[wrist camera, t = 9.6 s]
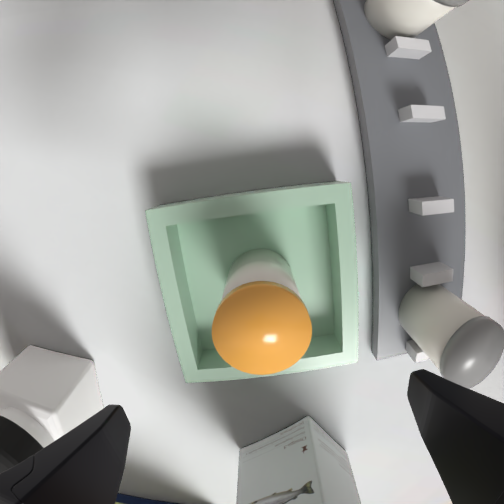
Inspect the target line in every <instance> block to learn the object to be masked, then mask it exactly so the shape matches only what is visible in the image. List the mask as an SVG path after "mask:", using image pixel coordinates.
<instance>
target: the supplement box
mask: <svg viewBox="0 0 504 504" xmlns="http://www.w3.org/2000/svg"><path fill="white" fill-rule="evenodd" d="M236 504H361V501H360V498H359V494H358V490H357V487H356V483H355V480H354V476H353V473H352V469H351V465H350V462H349V458H348V455H347V452H346V451H345V450H344V449H343V448H342V447H341V446H340V445H339V444H337V443H336V442H335V441H334V440H333V439H332V438H331V437H330V436H329V435H328V434H327V433H326V432H325V431H324V430H323V429H322V428H321V427H320V426H319V425H318V424H317V423H316V422H315V421H314V420H313V419H312V418H311V417H310V416H307V417H305V418H303V419H302V420H300V421H298V422H297V423H295V424H293V425H291V426H289V427H288V428H286V429H284V430H282V431H280V432H278V433H276V434H274V435H271V436H269V437H267V438H265V439H263V440H261V441H259V442H256V443H254V444H251V445H249V446H247V447H244V448H241V449H240V451H239V466H238V483H237V503H236Z"/></svg>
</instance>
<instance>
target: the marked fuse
mask: <svg viewBox="0 0 504 504" xmlns="http://www.w3.org/2000/svg"><path fill="white" fill-rule="evenodd" d="M311 337H312V324H311V320H310V317H309V314H308V311H307V308H306V306H305V304H304V302H303V301H302V299H301V297H300V294H299V291H298V288H297V285H296V282H295V279H294V277H293V274H292V271H291V268H290V266H289V264H288V262H287V261H286V260H285V259H284V258H283V257H282V256H281V255H280V254H278V253H276V252H274V251H272V250H268V249H253V250H249V251H247V252H245V253H243V254H241V255H240V256H239V257H238V258H237V259H236V260H235V261H234V262H233V264H232V266H231V268H230V270H229V274H228V277H227V281H226V285H225V288H224V292H223V296H222V299H221V302H220V304H219V305H218V307H217V310H216V313H215V316H214V320H213V324H212V340H213V343H214V346H215V348H216V350H217V352H218V353H219V355H220V356H221V357H222V358H223V360H224V361H226V362H227V363H228V364H229V365H231V366H232V367H234V368H236V369H237V370H240V371H242V372H245V373H249V374H255V375H268V374H274V373H277V372H281V371H283V370H285V369H287V368H289V367H291V366H292V365H294V364H295V363H296V362H297V361H299V360H300V359H301V357H302V356H303V355H304V354H305V352H306V351H307V349H308V347H309V345H310V341H311Z"/></svg>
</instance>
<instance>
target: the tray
mask: <svg viewBox="0 0 504 504" xmlns="http://www.w3.org/2000/svg"><path fill="white" fill-rule="evenodd" d="M145 213H146V218H147V224H148V229H149V234H150V240H151V245H152V250H153V255H154V260H155V264H156V269H157V274H158V278H159V283H160V287H161V291H162V296H163V300H164V304H165V308H166V312H167V316H168V320H169V324H170V328H171V332H172V336H173V339H174V343H175V347H176V350H177V354H178V358H179V361H180V365H181V368H182V371H183V375H184V378H185V382H186V383H197V382H213V381H227V380H238V379H249V378H258V377H267V376H276V375H283V374H291V373H298V372H305V371H311V370H318V369H324V368H330V367H335V366H341V365H346V364H351V363H357V362H358V274H357V252H356V236H355V222H354V209H353V198H352V188H351V183H350V182H341V181H332V182H322V183H313V184H304V185H295V186H286V187H278V188H270V189H262V190H255V191H247V192H240V193H233V194H226V195H219V196H213V197H206V198H200V199H194V200H187V201H181V202H175V203H169V204H164V205H159V206H157V207H154V208H151V209H148V210H146V211H145ZM253 249H268V250H272V251H274V252H276V253H278V254H280V255H281V256H282V257H283V258H284V259H285V260H286V261H287V262H288V264H289V266H290V268H291V271H292V274H293V277H294V279H295V282H296V285H297V288H298V291H299V294H300V297H301V299H302V301H303V302H304V304H305V306H306V308H307V311H308V314H309V317H310V320H311V324H312V337H311V341H310V345H309V347H308V349H307V351H306V352H305V354H304V355H303V356H302V357H301V359H300V360H299V361H297V362H296V363H295V364H294V365H292V366H291V367H289V368H287V369H285V370H283V371H281V372H277V373H274V374H268V375H255V374H249V373H245V372H242V371H240V370H237V369H236V368H234V367H232V366H231V365H229V364H228V363H227V362H226V361H224V360H223V358H222V357H221V356H220V355H219V353H218V352H217V350H216V348H215V346H214V343H213V340H212V324H213V320H214V316H215V313H216V310H217V307H218V305H219V304H220V302H221V299H222V296H223V292H224V288H225V285H226V281H227V277H228V274H229V270H230V268H231V266H232V264H233V262H234V261H235V260H236V259H237V258H238V257H239V256H240V255H241V254H243V253H245V252H247V251H249V250H253Z"/></svg>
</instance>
